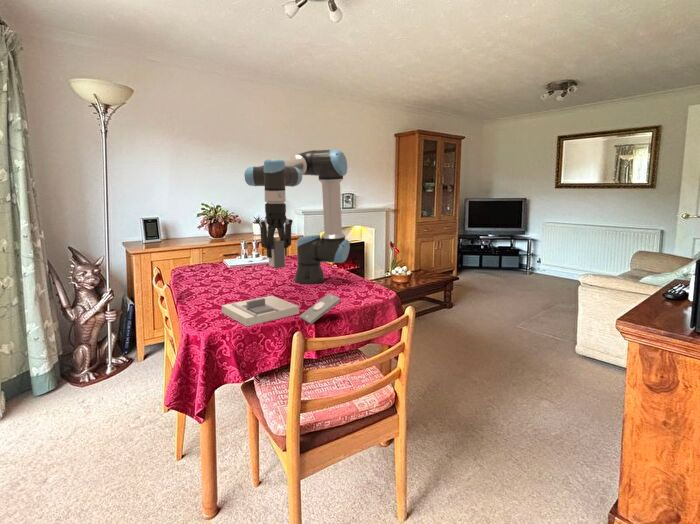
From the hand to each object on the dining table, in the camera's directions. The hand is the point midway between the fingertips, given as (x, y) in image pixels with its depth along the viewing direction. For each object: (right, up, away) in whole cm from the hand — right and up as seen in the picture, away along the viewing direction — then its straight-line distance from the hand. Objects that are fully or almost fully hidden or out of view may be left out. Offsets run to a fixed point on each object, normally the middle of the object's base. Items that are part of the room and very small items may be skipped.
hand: (277, 265), depth 152 cm
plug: (0, -1, 0) cm, 1 cm away
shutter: (-6, -16, -3) cm, 18 cm away
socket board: (-7, -18, +3) cm, 20 cm away
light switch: (+16, -20, -2) cm, 26 cm away
